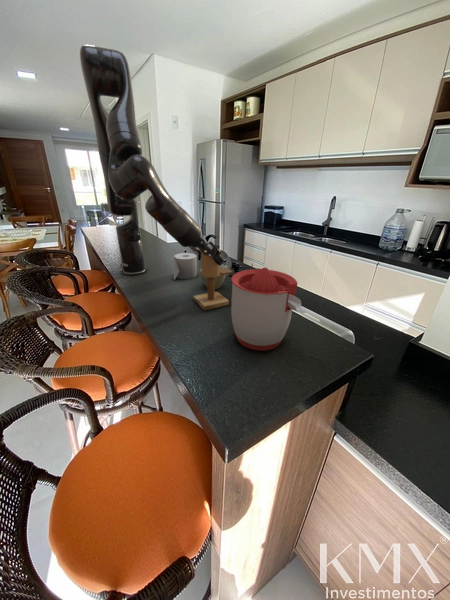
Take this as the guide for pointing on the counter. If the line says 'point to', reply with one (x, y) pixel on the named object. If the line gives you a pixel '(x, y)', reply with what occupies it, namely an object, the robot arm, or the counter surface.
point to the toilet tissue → (185, 266)
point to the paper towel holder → (211, 297)
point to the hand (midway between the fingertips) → (214, 260)
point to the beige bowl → (218, 280)
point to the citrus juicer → (262, 307)
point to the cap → (212, 267)
